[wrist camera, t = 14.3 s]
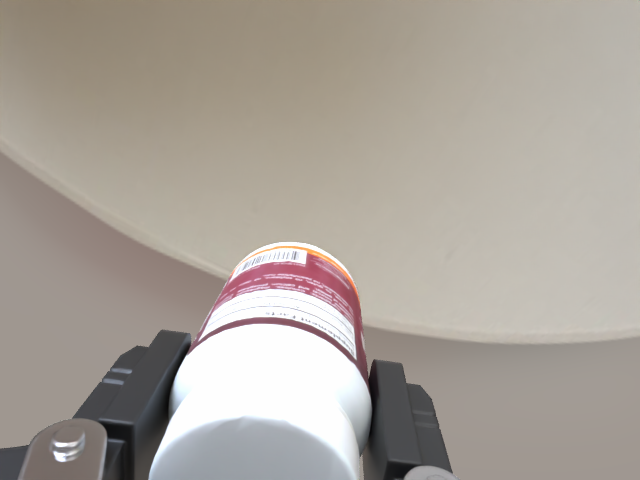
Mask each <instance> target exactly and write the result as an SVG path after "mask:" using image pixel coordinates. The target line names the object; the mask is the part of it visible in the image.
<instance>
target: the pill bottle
mask: <svg viewBox="0 0 640 480" xmlns="http://www.w3.org/2000/svg"><path fill="white" fill-rule="evenodd" d="M168 412H169V424H168V427H167V429H166V432H165V435H164V437H163V439H162V442H161V444H160V446H159V448H158V451H157V453H156V455H155V457H154V460H153V463H152V466H151V469H150V473H149V480H360V470H359V469H360V468H359V465H360V462H359V461H360V460H359V459H360V457H361V455H362V453H363V451H364V449H365V446H366V444H367V441H368V437H369V433H370V428H371V420H372V403H371V395H370V388H369V378H368V371H367V362H366V354H365V343H364V335H363V325H362V317H361V309H360V299H359V293H358V290H357V287H356V284H355V282H354V280H353V278H352V276H351V275H350V273H349V272H348V270H347V269H346V268H345V267H344V266H343V265H342V264H341V263H340V262H339V261H338V260H337V259H336V258H334V257H333V256H332V255H330V254H329V253H327V252H325V251H324V250H322V249H320V248H317V247H315V246H313V245H309V244H305V243H298V242H281V243H275V244H271V245H267V246H264V247H262V248H259V249H257V250H256V251H254V252H252V253H251V254H249V255H248V256H247V257H245V258H244V259H243V260H242V261H241V262H240V263H239V264H238V265H237V266H236V267H235V269H234V270H233V272H232V273H231V275H230V276H229V278H228V280H227V282H226V284H225V286H224V288H223V290H222V292H221V294H220V295H219V297H218V299H217V301H216V302H215V304H214V305H213V308H212V309H211V311H210V313H209V314H208V316H207V318H206V320H205V322H204V324H203V325H202V328H201V330H200V332H199V333H198V334H197V336H196V339H195V341H194V342H193V343H192V345H191V346H190V349H189V351H188V353H187V355H186V357H185V359H184V361H183V362H182V364H181V366H180V368H179V370H178V372H177V374H176V376H175V379H174V381H173V384H172V387H171V391H170V396H169V409H168Z"/></svg>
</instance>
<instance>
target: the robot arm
mask: <svg viewBox="0 0 640 480" xmlns="http://www.w3.org/2000/svg"><path fill="white" fill-rule="evenodd" d="M190 346H191V335H190V333H183V332H176V331H169V330H161V331H160V332H159V333H158V334H157V336H156V337H155V339H154V340H153V342H152V343H151V344H150V346H149V347H143V346H136V347H134V348H132V349H131V350H129V351H128V352H126V353H124V354H122V355H121V356H120V357H119V358H118V360H117V361H116V362H115V363H114V365H113V366H112V367H111V369H110V371H108V372H107V374H106V375H105V376H104V378H103V379H102V382H100V383H99V384H98V385H97V387H96V388H95V389H94V390H93V392H92V393H91V394H90V396H89V397H88V398H87V400H86V401H85V402H84V403H83V405H82V406H81V407H80V409H79V410H78V411H77V412H76V414H75V415H74V416H73V418H72V419H68V420H63V421H60V422H57V423H54V424H52V425H50V426H48V427H46V428H45V429H43V430H42V431H40V432H39V433H38V434H37V435H36V436H35V437H34V438H33V439H32V441H31V442H30V444H29V445H26V446H20V447H13V448H4V449H3V448H2V449H0V480H149V473H150V469H151V466H152V463H153V460H154V457H155V455H156V453H157V451H158V448H159V446H160V444H161V442H162V439H163V437H164V435H165V432H166V429H167V427H168V424H169V412H168V409H169V396H170V391H171V387H172V384H173V381H174V379H175V376H176V374H177V372H178V370H179V368H180V366H181V364H182V362H183V361H184V359H185V357H186V355H187V353H188V351H189V349H190ZM369 388H370V395H371V403H372V420H371V428H370V433H369V437H368V441H367V444H366V446H365V449H364V451H363V453H362V455H363V471H364V480H460V479H459V478H458V477H456V476H455V475H454V474H453V472H452V469H451V466H450V462H449V459H448V455H447V452H446V448H445V444H444V441H443V438H442V434H441V430H440V429H439V423H438V420H437V417H436V413H435V409H434V406H433V402H432V399H431V398H430V397H429V395H428V394H427V393H426V392H425V391H424V389H423V388H422V387H421V386H420V385H415V384H408V383H406V379H405V375H404V370H403V366H402V364H401V363H396V362H390V361H383V360H375V359H374V360H373V362H372V366H371V371H370V376H369Z"/></svg>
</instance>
